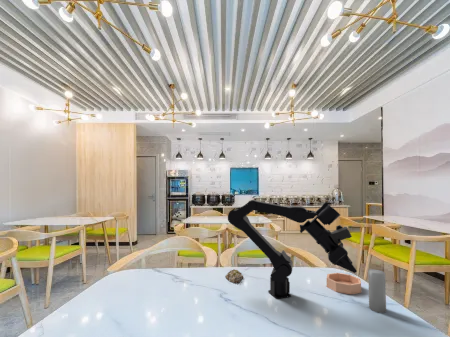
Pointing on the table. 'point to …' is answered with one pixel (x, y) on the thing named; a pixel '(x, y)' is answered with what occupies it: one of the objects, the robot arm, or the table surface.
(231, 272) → the mineral rock
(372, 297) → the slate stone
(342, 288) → the terracotta bowl
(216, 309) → the table surface
